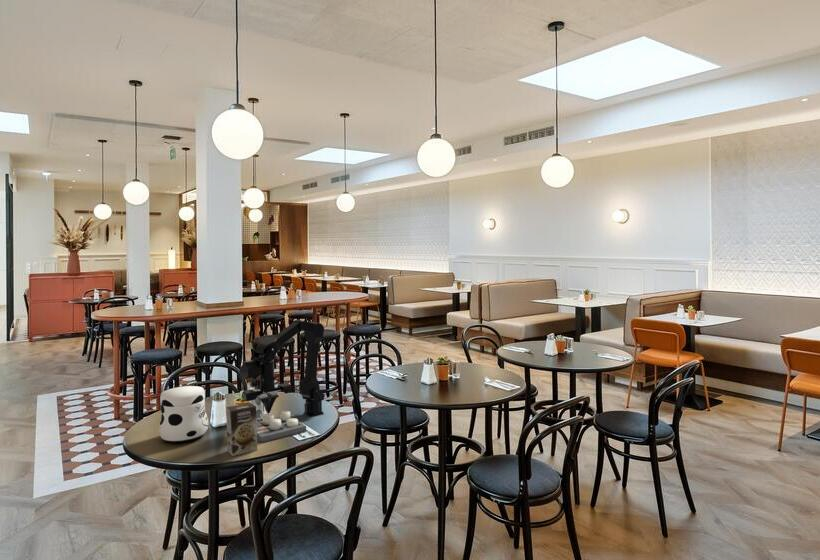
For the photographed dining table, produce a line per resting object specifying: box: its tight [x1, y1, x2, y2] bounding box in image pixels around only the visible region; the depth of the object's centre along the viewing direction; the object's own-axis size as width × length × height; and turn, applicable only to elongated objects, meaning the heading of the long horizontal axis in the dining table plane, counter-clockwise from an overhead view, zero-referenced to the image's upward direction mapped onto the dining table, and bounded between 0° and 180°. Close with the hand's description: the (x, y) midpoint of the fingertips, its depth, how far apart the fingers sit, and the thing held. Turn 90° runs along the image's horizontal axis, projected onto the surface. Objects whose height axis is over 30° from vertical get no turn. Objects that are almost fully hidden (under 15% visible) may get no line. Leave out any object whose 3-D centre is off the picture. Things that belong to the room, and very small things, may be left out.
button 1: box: [262, 413, 275, 425], centre depth 204 cm, size 4×4×3 cm
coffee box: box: [225, 402, 258, 457], centre depth 183 cm, size 9×6×16 cm
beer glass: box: [247, 381, 265, 421], centre depth 218 cm, size 7×7×15 cm
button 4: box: [287, 417, 299, 428], centre depth 203 cm, size 4×4×3 cm
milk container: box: [158, 385, 209, 443], centre depth 197 cm, size 17×17×18 cm
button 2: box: [269, 419, 281, 430], centre depth 199 cm, size 4×4×3 cm
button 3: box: [278, 410, 292, 421], centre depth 209 cm, size 4×4×3 cm
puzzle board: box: [257, 416, 307, 444], centre depth 203 cm, size 18×17×3 cm
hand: (268, 413), depth 204 cm, fingers closed
